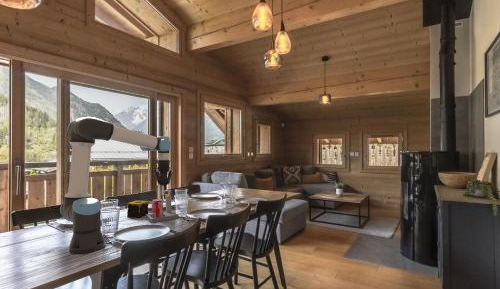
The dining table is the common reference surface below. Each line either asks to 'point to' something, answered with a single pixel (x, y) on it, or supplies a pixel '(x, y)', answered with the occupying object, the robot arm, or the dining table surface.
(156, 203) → the soda can
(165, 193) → the clip
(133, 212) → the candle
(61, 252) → the dining table surface
